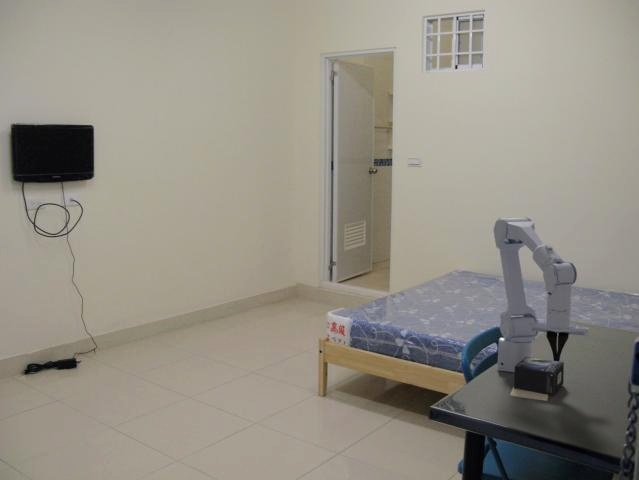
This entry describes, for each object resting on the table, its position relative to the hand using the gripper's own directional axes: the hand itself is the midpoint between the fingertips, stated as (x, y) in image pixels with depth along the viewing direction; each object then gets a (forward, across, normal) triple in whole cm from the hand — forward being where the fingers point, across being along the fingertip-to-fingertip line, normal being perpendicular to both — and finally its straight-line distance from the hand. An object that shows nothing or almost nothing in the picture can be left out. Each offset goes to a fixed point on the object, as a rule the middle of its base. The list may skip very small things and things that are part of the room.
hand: (556, 360), depth 167 cm
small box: (+5, +1, 0) cm, 5 cm away
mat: (+8, -6, -1) cm, 10 cm away
